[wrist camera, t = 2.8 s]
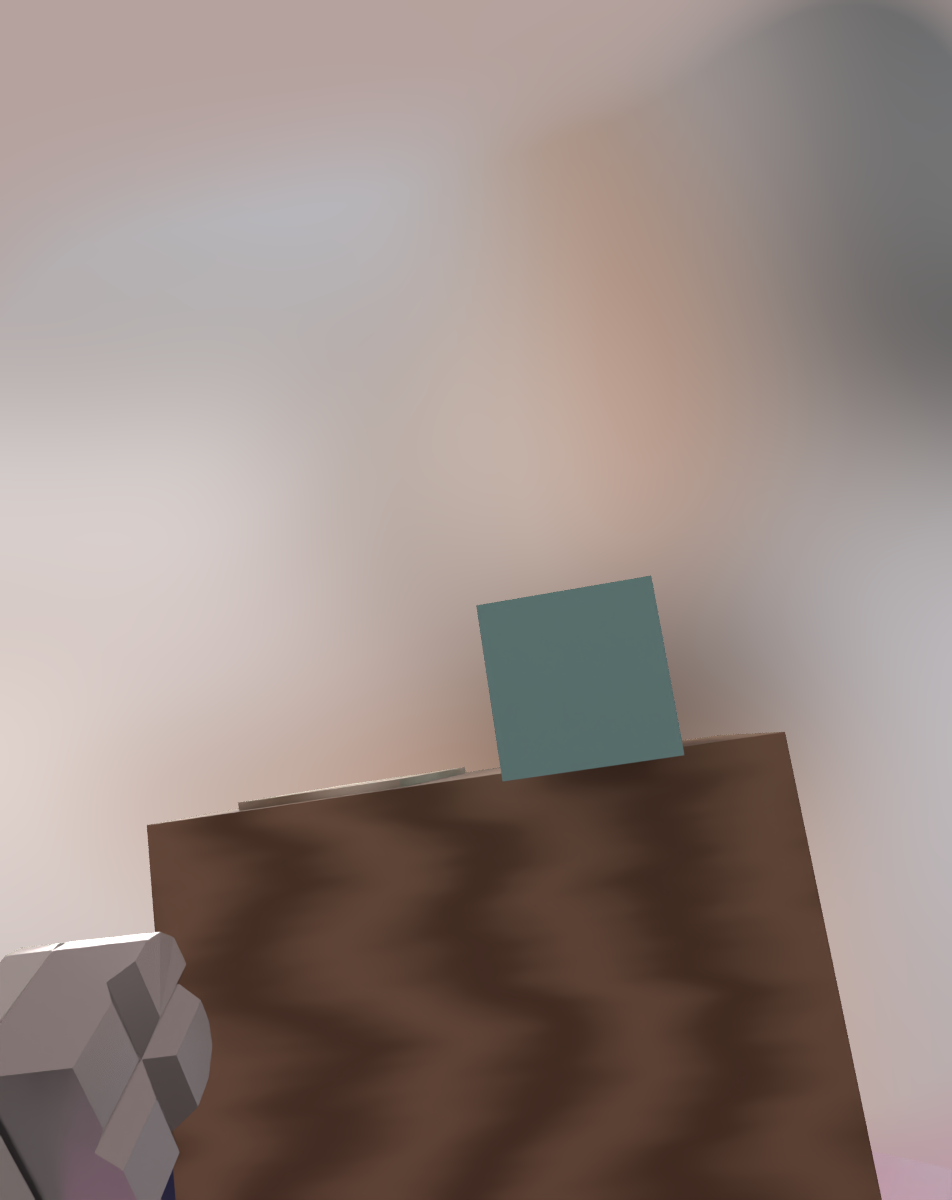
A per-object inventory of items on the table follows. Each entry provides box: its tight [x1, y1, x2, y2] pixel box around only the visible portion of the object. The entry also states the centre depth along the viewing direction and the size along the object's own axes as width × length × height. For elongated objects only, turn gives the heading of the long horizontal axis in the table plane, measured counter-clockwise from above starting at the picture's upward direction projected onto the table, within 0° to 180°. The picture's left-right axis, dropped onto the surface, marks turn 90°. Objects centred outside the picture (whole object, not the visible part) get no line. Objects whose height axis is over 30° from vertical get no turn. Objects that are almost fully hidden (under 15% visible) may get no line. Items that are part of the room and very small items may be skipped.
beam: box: [477, 576, 684, 781], centre depth 32 cm, size 4×26×4 cm, turn 171°
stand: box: [147, 732, 882, 1200], centre depth 36 cm, size 22×18×26 cm
